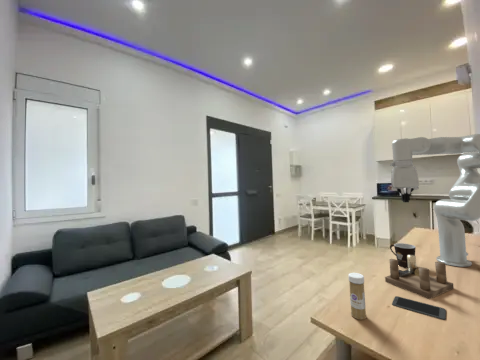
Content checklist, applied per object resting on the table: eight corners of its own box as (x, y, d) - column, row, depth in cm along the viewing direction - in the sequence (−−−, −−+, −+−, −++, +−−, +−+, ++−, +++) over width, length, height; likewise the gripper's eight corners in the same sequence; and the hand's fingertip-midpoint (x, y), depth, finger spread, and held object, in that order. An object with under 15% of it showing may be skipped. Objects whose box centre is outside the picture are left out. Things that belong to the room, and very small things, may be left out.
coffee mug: (421, 269, 103) (419, 248, 103) (400, 269, 105) (399, 248, 105) (407, 260, 115) (406, 241, 115) (389, 260, 116) (388, 241, 116)
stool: (408, 273, 100) (407, 252, 100) (453, 288, 85) (451, 263, 85) (385, 281, 94) (383, 259, 94) (429, 299, 79) (427, 272, 79)
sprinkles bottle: (349, 317, 71) (346, 275, 72) (352, 310, 75) (350, 271, 75) (365, 322, 69) (362, 279, 69) (368, 314, 72) (365, 274, 72)
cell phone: (445, 321, 67) (445, 319, 67) (391, 306, 77) (391, 304, 77) (446, 310, 72) (445, 308, 72) (395, 297, 82) (395, 295, 82)
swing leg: (411, 270, 98) (410, 254, 98) (418, 272, 95) (417, 256, 95) (395, 274, 95) (393, 257, 95) (402, 277, 92) (400, 260, 92)
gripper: (386, 165, 105) (389, 203, 105) (425, 162, 100) (428, 202, 99) (383, 166, 112) (385, 201, 112) (418, 163, 107) (421, 200, 106)
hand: (405, 202), depth 106 cm, fingers closed
